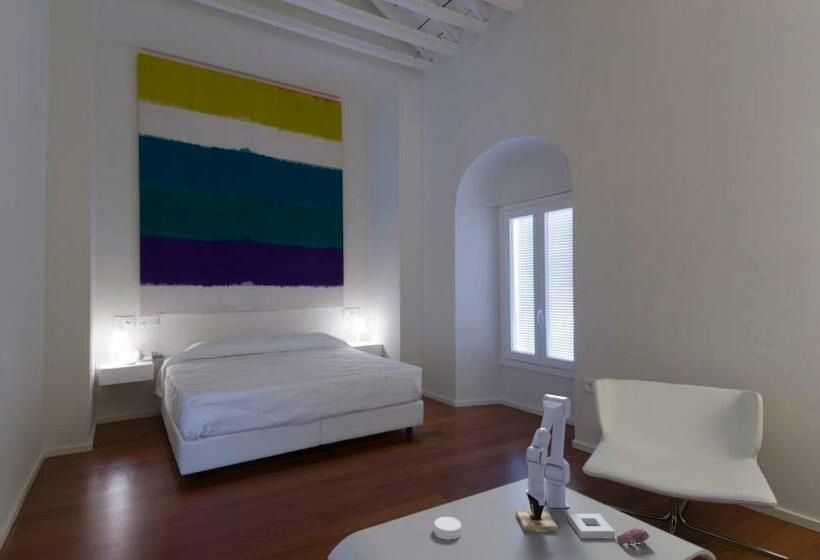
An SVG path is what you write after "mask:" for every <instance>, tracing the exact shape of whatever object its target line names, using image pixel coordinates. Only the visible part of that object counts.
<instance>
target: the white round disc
mask: <svg viewBox="0 0 820 560" xmlns="http://www.w3.org/2000/svg"><path fill="white" fill-rule="evenodd" d="M434 533H435V534H434ZM433 534H434V535H435V536H436V537H437V538H439V539H441V538H442V540H444V539H446V540H445V541H451V539H454V540H456V538H457V539H459V538H460V537H461V535H462V523H461V521H460V520H459V519H458V518H455V517H453V516H440V517H438V518H436V519H435V520H434V522H433ZM459 536H460V537H459Z"/></svg>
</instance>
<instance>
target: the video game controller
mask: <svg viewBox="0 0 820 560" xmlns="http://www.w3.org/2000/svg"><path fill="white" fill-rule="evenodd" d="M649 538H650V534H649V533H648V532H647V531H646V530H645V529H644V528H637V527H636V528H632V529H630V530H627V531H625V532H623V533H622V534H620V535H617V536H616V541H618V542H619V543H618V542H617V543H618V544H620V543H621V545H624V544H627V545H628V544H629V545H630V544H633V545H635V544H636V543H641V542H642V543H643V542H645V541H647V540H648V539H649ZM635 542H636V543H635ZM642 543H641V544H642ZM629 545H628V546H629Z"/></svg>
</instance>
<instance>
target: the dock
mask: <svg viewBox="0 0 820 560" xmlns="http://www.w3.org/2000/svg"><path fill="white" fill-rule="evenodd" d="M567 515H568V516H567V517H568V519H567V521H568V522H569V523H570V524H571V526H572V528H573V529H574V530H575V532H576V534H579V535H578V536H579V537H580V539H606V538H605V537H615V538H616V535H615V534H616V531H615V530H614V529H613V527H612V526H611V525H610V524H609V523H608V522H607V520H605V518H604V517H603V516H602V515H601V514H600V513H568V514H567ZM595 525H596V526H595Z"/></svg>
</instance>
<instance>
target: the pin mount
mask: <svg viewBox="0 0 820 560" xmlns="http://www.w3.org/2000/svg"><path fill="white" fill-rule="evenodd" d="M515 515H516V518H517V519H518V522H519V524H520V526H521V528H522V530H523V532H524V533H558V532H559V531H558V525H557V523H556V522H555V520H554V519H553V518H552V516H551V515H550V512H549V511H548V509H543V512H542V516H541V519H540V521H532V512H531V509H515Z"/></svg>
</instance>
